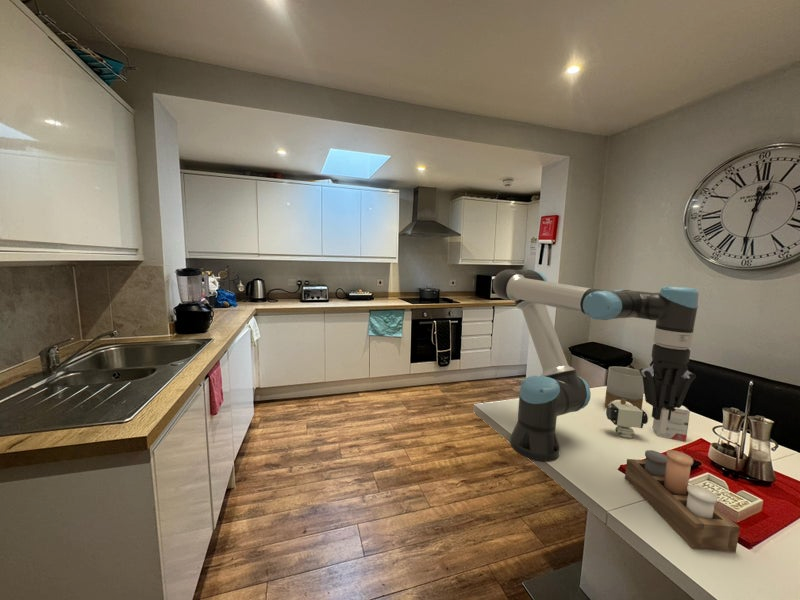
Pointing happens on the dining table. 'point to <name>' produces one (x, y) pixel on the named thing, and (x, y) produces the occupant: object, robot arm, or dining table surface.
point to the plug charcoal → (655, 463)
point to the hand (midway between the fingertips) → (658, 430)
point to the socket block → (683, 512)
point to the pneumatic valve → (626, 418)
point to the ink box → (677, 425)
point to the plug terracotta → (677, 472)
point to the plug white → (701, 501)
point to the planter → (624, 386)
